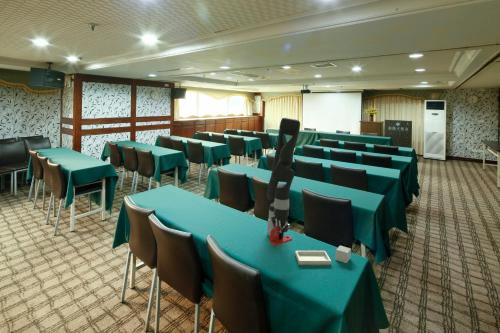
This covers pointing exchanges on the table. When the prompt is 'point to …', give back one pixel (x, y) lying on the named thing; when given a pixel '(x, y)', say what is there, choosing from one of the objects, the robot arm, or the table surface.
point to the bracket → (275, 238)
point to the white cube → (343, 254)
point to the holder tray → (312, 258)
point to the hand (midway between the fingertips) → (279, 237)
